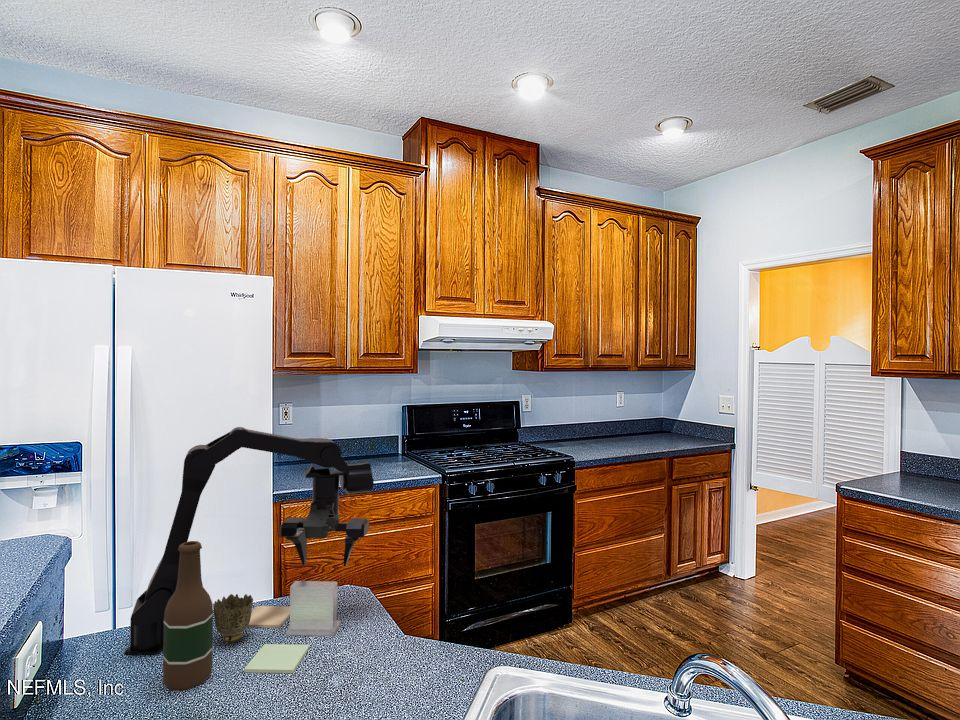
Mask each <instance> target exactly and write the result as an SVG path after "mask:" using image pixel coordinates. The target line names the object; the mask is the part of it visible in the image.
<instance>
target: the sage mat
mask: <svg viewBox="0 0 960 720" xmlns="http://www.w3.org/2000/svg"><path fill="white" fill-rule="evenodd" d="M310 649H311V647H310V644H278V643H277V644H274V643H273V644H271V643H269V644H268V643H264V644H263V645H262V646H261V647H260V649H259V650H258V652H257V653H256V654H255V655H254V656H253V658H252V659H251V660H250V661H249V663H248V664H247V665H246V666H245V668H243V673H255V674H256V673H257V674H258V673H259V674H262V673H263V674H264V673H265V674H294V673H295V672H296V670H297V668H298V667H299V665H300V663H301V662H302V660H303V659H304V657H305V656H306V655H307V653H308V651H309V650H310Z"/></svg>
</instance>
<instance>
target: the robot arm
mask: <svg viewBox="0 0 960 720" xmlns="http://www.w3.org/2000/svg"><path fill="white" fill-rule="evenodd" d="M241 448H245V449H249V450H250V449H251V450H256V451H261V452H268V453H272V454H280V455H284V456H285V455H286V456H290V457H291V456H292V457H296V458H299V459H301V460H303V461H306V462H308V463H311V465H310V466H309V467H308V469H306V470H305V471H303V475H304V477H305V478H306V479H312V499H311V500H312V502H310V508H309V512H308V514H307V515H306V518H305V517H303V516H302V517H301V516H299V517H297V516H294V517H292V516H290V517H289V518H287V519H286V520H284V521H283V522H282V523H281V524H280V526H279V536H280V537H285V540H287V541H290V542H292V544H293V545H294V547H295V549H296V551H297V554H298V556H299V559H300V561H301V565H302V566H304V567H305V566H306V565H307V558H308V557H307V556H308V551H307V550H308V539H309V540H310V539H320V540H321V539H322V540H324V539H326V538H327V537H328V535H329V533H330V532H345V534H346V536H345V538H344V539H343V540H344V552H343V567H346V566H347V565H348V562H349V559H350V556H351V553H352V550H353V547H354V546H355V543H356V542H357V541H359V540H360V538H364V537H365V536H366V535H367V533H368V532H369V531H370V522H369V520H368V518H361V517H358V518H357V517H355V518H354V517H351V518H350V520H349V521H348V522H339V521H340V514H339V513H340V511H339V507H340V506H339V503H340V500H341V499H340V495H339V494H340V490H339V489H341V491H345V494H346V495H351V494H360V493H370V492H371V493H372V491H373V489H374V483H375V482H374V478H373V477H374V476H373V472H372V468H371V466H372V464H371V463H370V462H368V461H367V462H366V461H365V462H361V463H348V462H347V461H346V460H344V458H343V457H342V449H341V448H340V446H339V444H338V443H336V442H334V441H333V440H331V439H329V438H325V437H323V438H320V437H319V438H318V437H315V438H311V437H309V438H297V437H291V436H287V435H281V434H275V433H269V432H263V431H259V430H253V429H247V428H245V427H243V426H237V427H234V428H233V429H231V430H230V431H229V432H228V433H225V434H224V435H222V436H219V437H217V438H216V439H214V440H212V441H210V442H209V443H207V444H199V445H194V446H192V447H191V448H190V449H189V450H188V451H187V453H186V454H185V458H184V461H183V471H182V479H181V480H182V482H181V483H182V484H181V493H180V496H179V499H178V504H177V507H176V510H175V514H174V518H173V521H172V525H171V529H170V531H169V535H168V539H167V542H166V544H165V549H164V551H163V555H162V557H161V560H160V561H159V563H158V565H157V566H156V568H155V570H154V572H153V574H152V576H151V579H150V580H149V583H148V584H147V585H148V586H147V588H146V590H145V591H144V592H143V593H141V595H139V597H138V598H137V599H136V600H135V601H136V602H135V604H134V607H133V610H132V613H131V617H130V624H129V625H130V626H129V627H130V629H129V631H130V634H129V635H130V637H129V641H130V642H129V647H128V648H126V649H124V654H126V655H132V654H133V655H157V654H159V653H160V652H161V651H163V635H164V613H165V608H166V606H167V603H168V601H169V599H170V598H171V596H172V595H173V593H174V592H175V590H176V586H177V580H178V568H179V557H180V552H179V551H178V548H179V545H181V544H182V543H184V542H189V537H190V534H191V530H192V527H193V523H194V519H195V516H196V513H197V509H198V506H199V502H200V498H201V496H202V493H203V491H204V489H205V487H206V485H207V483H209V480H210V478H211V476H212V474H213V471H214V469H215V467H216V465H217V464H218V463H220V462H222V461H224V460H225V459H227V458H228V457H229V456H231V455H232V454H233V453H235V452H236V451H238V450H239V449H241ZM312 464H315V465H316V466H320V468H319V467H318V468H315V467H314V466H313V465H312ZM330 468H334V469H336V470H332V471H331V470H330Z"/></svg>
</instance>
